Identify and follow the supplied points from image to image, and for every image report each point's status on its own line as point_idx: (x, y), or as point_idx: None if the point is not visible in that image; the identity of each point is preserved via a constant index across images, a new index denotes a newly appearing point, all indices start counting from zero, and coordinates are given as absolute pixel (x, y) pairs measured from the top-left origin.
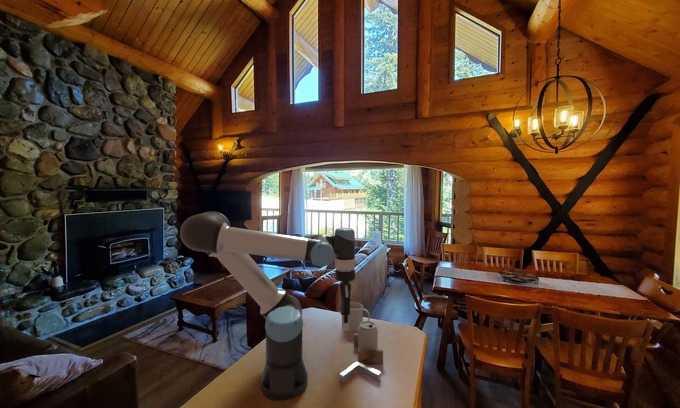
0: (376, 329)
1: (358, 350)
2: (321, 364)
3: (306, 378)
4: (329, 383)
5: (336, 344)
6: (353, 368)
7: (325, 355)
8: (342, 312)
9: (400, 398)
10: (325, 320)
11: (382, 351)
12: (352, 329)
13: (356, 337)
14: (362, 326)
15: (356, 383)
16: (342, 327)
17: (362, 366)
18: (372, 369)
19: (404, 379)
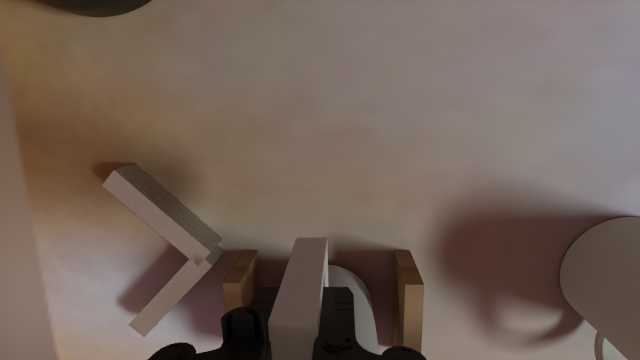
0: None
1: (236, 284)
2: (248, 79)
3: (52, 3)
4: (117, 119)
5: (429, 162)
6: (161, 234)
7: (325, 100)
8: (236, 346)
9: (73, 355)
10: None
11: None
12: (568, 265)
13: (402, 287)
14: None
15: (129, 228)
16: (293, 251)
17: (176, 274)
18: (158, 310)
19: None
